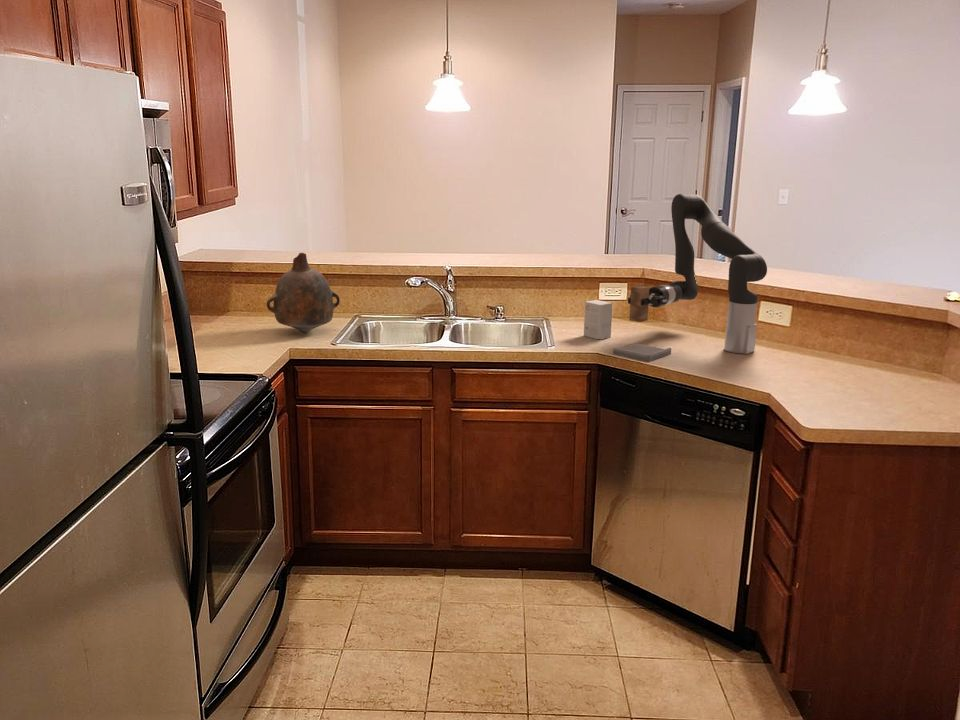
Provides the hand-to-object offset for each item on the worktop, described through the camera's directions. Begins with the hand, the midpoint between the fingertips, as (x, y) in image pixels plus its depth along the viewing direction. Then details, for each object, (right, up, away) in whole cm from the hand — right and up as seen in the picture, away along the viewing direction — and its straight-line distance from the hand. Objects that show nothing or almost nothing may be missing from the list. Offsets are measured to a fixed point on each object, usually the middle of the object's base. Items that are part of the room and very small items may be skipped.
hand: (635, 301), depth 276 cm
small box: (-11, -12, +14) cm, 22 cm away
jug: (-120, -10, +15) cm, 121 cm away
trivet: (+1, -18, -9) cm, 20 cm away
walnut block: (+2, -6, +4) cm, 8 cm away
